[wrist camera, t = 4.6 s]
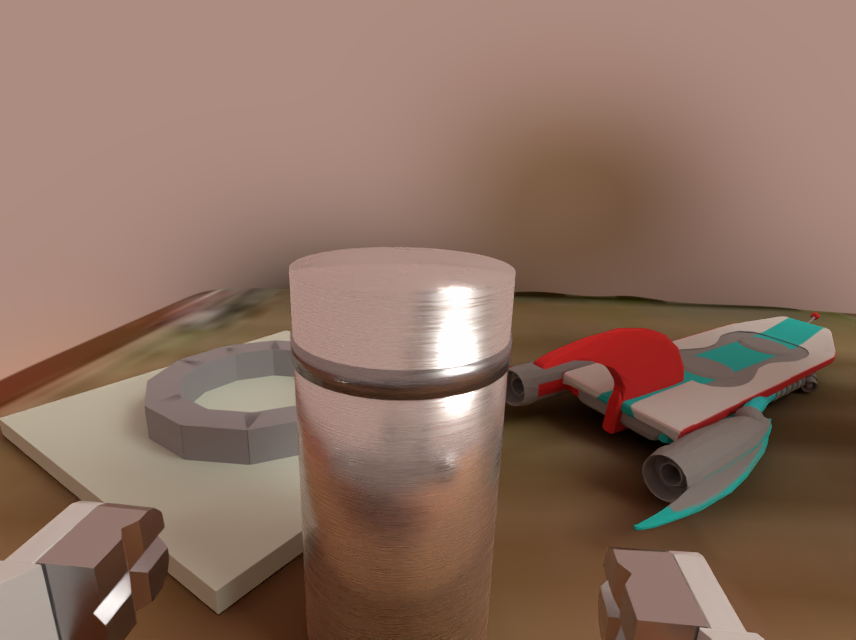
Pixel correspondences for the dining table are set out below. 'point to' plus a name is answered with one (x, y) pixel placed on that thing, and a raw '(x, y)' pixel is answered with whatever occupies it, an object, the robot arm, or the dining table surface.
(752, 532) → the dining table surface
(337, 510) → the piston
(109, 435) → the ring plate
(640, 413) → the toy spaceship
